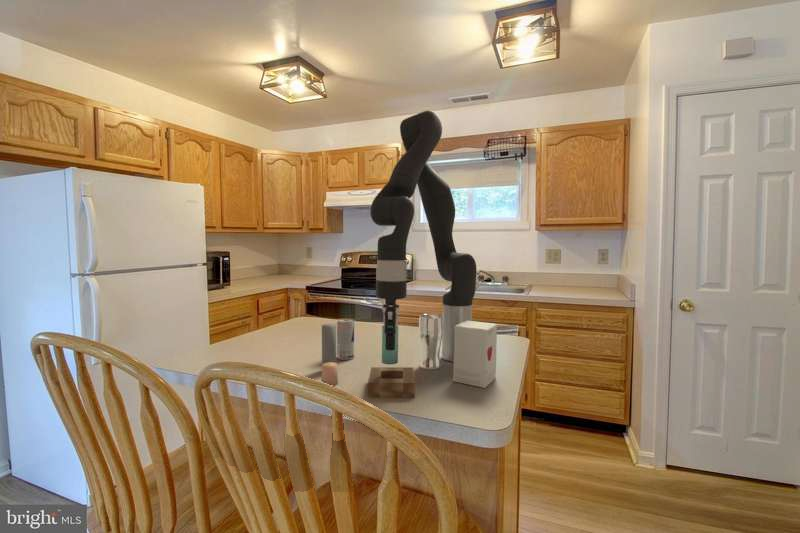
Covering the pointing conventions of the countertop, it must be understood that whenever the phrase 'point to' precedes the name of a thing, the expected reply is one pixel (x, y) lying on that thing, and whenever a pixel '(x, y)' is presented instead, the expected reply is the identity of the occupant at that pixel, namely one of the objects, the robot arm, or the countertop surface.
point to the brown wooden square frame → (391, 382)
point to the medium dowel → (389, 355)
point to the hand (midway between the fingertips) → (390, 347)
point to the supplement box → (475, 353)
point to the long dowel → (328, 343)
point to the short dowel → (330, 373)
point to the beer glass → (430, 340)
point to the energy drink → (345, 339)
